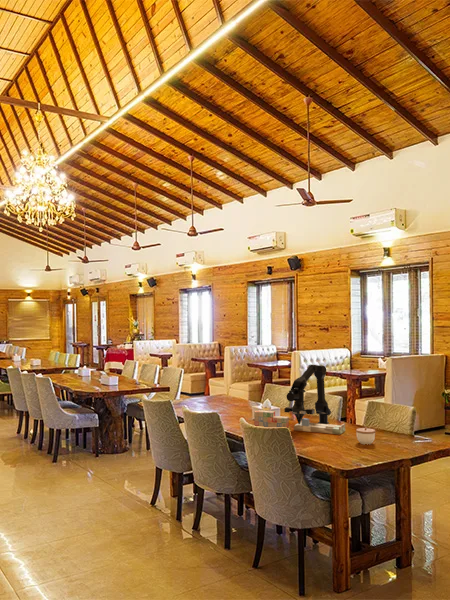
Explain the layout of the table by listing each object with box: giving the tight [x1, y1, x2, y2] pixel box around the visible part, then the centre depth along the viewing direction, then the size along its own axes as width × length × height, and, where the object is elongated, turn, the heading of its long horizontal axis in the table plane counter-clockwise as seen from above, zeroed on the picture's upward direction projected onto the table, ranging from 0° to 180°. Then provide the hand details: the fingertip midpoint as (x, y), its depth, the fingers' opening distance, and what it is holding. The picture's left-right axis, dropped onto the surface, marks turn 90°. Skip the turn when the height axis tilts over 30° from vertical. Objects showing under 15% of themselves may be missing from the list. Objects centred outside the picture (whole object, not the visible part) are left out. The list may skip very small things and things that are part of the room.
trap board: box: [293, 421, 346, 435], centre depth 358 cm, size 13×30×4 cm, turn 65°
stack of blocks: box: [253, 409, 290, 429], centre depth 356 cm, size 21×6×12 cm, turn 68°
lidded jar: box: [355, 426, 376, 446], centre depth 321 cm, size 11×11×9 cm
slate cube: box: [301, 417, 310, 426], centre depth 359 cm, size 4×4×4 cm
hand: (299, 423), depth 360 cm, fingers closed
